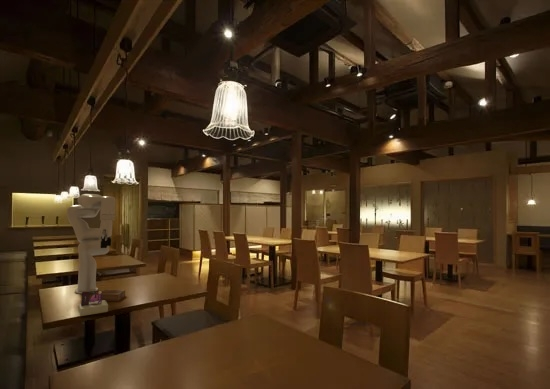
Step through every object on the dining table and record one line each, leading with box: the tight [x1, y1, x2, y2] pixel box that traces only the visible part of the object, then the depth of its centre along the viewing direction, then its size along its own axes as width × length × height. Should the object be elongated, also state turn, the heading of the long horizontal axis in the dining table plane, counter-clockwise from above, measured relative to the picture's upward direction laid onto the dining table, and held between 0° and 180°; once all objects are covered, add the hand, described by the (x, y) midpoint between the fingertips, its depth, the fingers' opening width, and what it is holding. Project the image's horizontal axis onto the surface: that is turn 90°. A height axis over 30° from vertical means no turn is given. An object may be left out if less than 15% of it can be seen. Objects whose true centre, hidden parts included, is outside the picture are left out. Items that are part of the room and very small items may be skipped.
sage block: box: [78, 300, 109, 317], centre depth 158 cm, size 10×12×4 cm
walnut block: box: [96, 289, 126, 302], centre depth 180 cm, size 10×12×4 cm
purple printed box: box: [80, 290, 103, 306], centre depth 159 cm, size 7×5×9 cm
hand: (105, 246), depth 180 cm, fingers open, 9 cm apart
